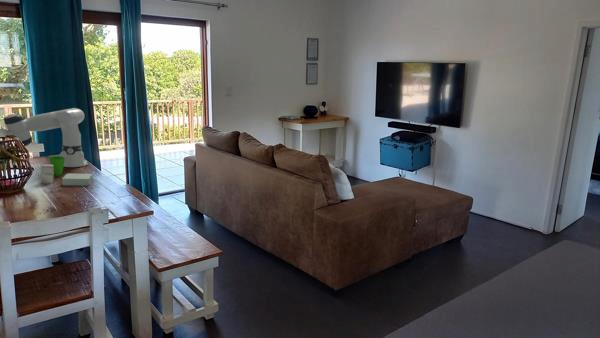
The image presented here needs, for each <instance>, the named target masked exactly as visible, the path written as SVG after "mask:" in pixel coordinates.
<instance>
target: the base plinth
mask: <svg viewBox="0 0 600 338" xmlns="http://www.w3.org/2000/svg"><path fill="white" fill-rule="evenodd" d="M93 176H94V175H93V173H66V174H65V175H64V176H63V177H62V178H61V179H62V180H61V183H62V186H84V187H85V186H90V184H91V183H92V182H93V179H94V177H93Z"/></svg>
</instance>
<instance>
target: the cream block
mask: <svg viewBox="0 0 600 338" xmlns="http://www.w3.org/2000/svg"><path fill="white" fill-rule="evenodd" d="M40 167H41V170H40V171H41V184H52V183H54V180H55V179H54V178H55V176H54V173H53V165H51V164H43V165H41V166H40Z"/></svg>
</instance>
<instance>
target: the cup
mask: <svg viewBox="0 0 600 338" xmlns="http://www.w3.org/2000/svg"><path fill="white" fill-rule="evenodd" d="M48 159H49V163H50V164H49V165H53V173H54V177H56V176H57V177H60V176H62V175H63V173H64V167H63V166H64V160H65V157H62V156H60V155H59V156H57V155H56V156H54V155H53V156H49V157H48Z"/></svg>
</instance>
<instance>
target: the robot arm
mask: <svg viewBox="0 0 600 338" xmlns="http://www.w3.org/2000/svg"><path fill="white" fill-rule="evenodd" d="M84 120H85V113H84V111H83V110H81V109H80V108H77V107H72V108H71V107H70V108H66V109H61V110H55V111H51V112H46V113H45V112H44V113H40V114H35V115H32V116H29V117H27V118H26V116H25V115H22V114H20V113H10V114H8V115H7V116H5V117H4V118H3V121H4V122H3V123H4V125H5V127H6V128H0V137H3V136H6V135H15V136H17V137H18V138H19V139H20V140H21V141H22V143H23V144H24V146H23V147H27V146H29V145H30V144H32V142H33V136H32V135H31V132H43V131H49V130H54V129H59V128H60V130H61V134H62V145H61V150H62V151H61V152H60V153H59V156H62V157H65V160H64V166H63V168H64V167H65V168H79V167H85V166H86V165H87V166H88V160H86V158H85V154H84V152H83V147H82V134H81V132H80V129H79V124H80V123H83V122H84ZM87 166H86V167H87Z"/></svg>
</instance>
